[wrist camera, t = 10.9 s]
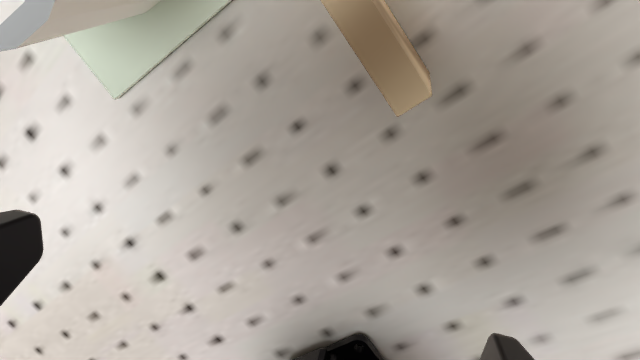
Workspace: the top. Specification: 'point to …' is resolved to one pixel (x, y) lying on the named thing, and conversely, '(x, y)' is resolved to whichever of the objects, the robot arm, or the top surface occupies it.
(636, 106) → the top surface
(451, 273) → the top surface
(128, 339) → the top surface
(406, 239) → the top surface
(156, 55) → the pad
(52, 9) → the white cup
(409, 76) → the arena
